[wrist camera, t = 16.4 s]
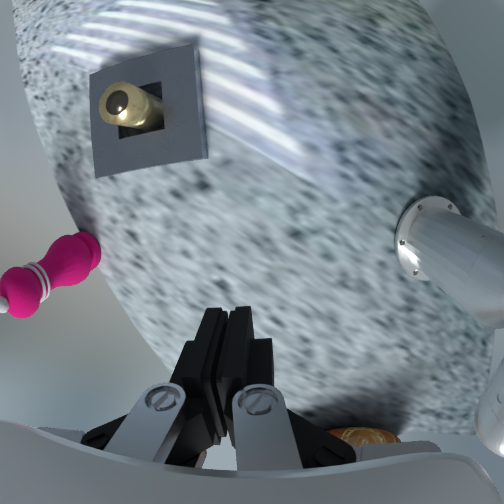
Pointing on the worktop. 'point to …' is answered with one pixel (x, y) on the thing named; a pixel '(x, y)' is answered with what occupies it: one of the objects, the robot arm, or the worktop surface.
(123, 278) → the worktop surface
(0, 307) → the pepper mill
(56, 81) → the worktop surface
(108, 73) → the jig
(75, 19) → the worktop surface
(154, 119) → the cylinder
